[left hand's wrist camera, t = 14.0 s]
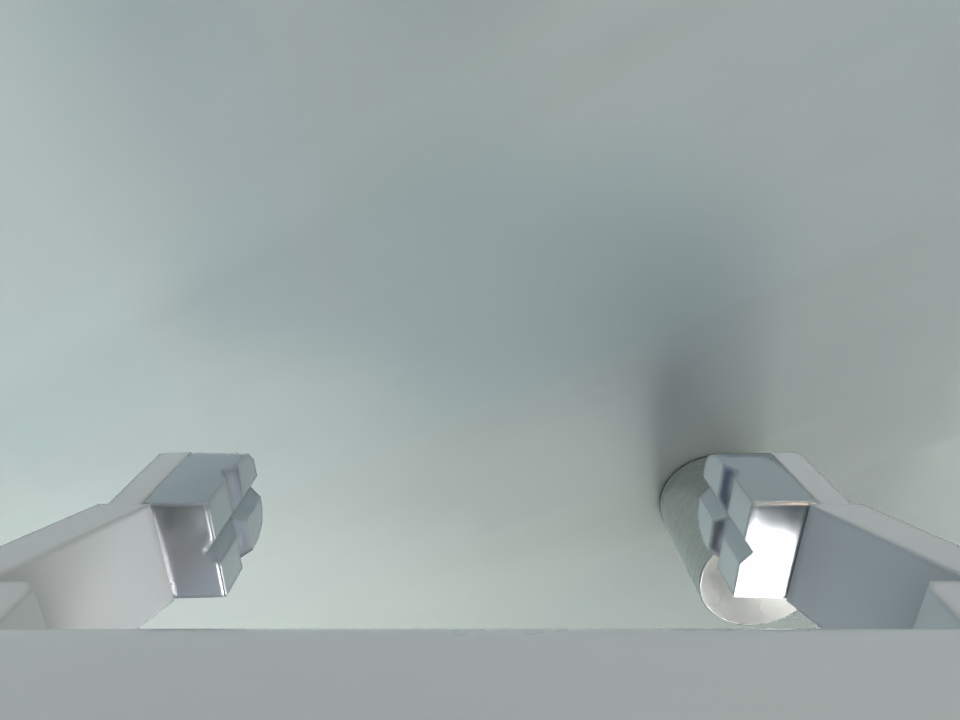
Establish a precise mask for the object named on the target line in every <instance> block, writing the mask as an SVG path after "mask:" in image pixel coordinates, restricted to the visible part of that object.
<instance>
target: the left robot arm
mask: <svg viewBox="0 0 960 720" xmlns="http://www.w3.org/2000/svg"><path fill="white" fill-rule="evenodd" d="M256 477H257V473H256V468H255V463H254V459H253V458H252V457H251V456H250V455H249V454H225V453H191V452H186V453H163V454H159V455H158V456H157V457H156V458H155V459H154V460H153V461H152V462H151V463H150V464H149V465H148V466H147V467H146V468H145V469H144V470H143V471H142V472H141V473H140V474H138V475H137V476H136V477H135V478H134V479H133V480H132V481H131V482H130V483H129V484H128V485H127V486H126V487H125V488H124V489H123V490H122V491H121V492H120V493H119V494H118V495H117V496H116V497H115V498H114V499H113V500H112V501H111V502H110V503H109V504H98V505H95V506H93V507H91V508H88V509H86V510H84V511H81V512H79V513H77V514H74V515H72V516H70V517H67V518H65V519H63V520H61V521H58V522H56V523H54V524H51V525H49V526H47V527H44V528H42V529H40V530H37V531H35V532H33V533H30V534H28V535H26V536H23V537H21V538H19V539H16V540H14V541H12V542H9V543H7V544H5V545H2V546H0V720H960V546H957V545H955V544H953V543H950V542H948V541H946V540H943V539H941V538H939V537H936V536H934V535H932V534H930V533H927V532H925V531H923V530H920V529H918V528H916V527H913V526H911V525H909V524H906V523H904V522H902V521H899V520H897V519H895V518H892V517H890V516H888V515H885V514H883V513H881V512H879V511H876V510H874V509H872V508H869V507H867V506H865V505H862V504H851V503H850V502H849V501H848V500H847V499H846V498H845V497H844V496H843V495H842V494H841V493H840V492H839V491H838V490H837V489H836V488H835V487H834V486H833V485H832V484H831V483H830V482H829V481H828V480H827V479H826V478H825V477H824V476H823V475H822V474H821V473H820V472H819V471H818V470H817V469H815V468H814V467H813V466H812V465H811V464H810V463H809V462H808V461H807V460H806V459H805V458H804V457H803V456H802V455H800V454H798V453H795V452H787V453H753V454H715V455H709V456H708V458H707V461H706V463H705V467H704V473H703V477H704V478H705V480H706V481H707V483H708V484H709V486H710V487H709V488H708V489H707V490H706V491H705V492H704V493H703V494H702V495H701V496H700V497H699V504H698V512H697V515H698V526H699V531H700V534H701V538H702V540H703V542H704V544H705V546H706V548H707V550H708V551H710V552H712V553H713V554H715V555H716V556H718V557H719V563H718V570H719V572H720V573H721V575H722V577H723V579H724V580H725V582H726V584H727V586H728V588H729V589H730V591H731V593H732V595H733V596H734V597H754V598H787V599H786V601H787V602H788V603H790V604H791V605H792V606H794V607H795V608H796V609H797V610H799V611H800V612H801V613H803V614H804V615H805V616H807V617H808V618H809V619H810V620H812V621H813V622H814V623H816V624H817V625H818V626H819V627H821V628H822V629H138V628H139V627H141V626H142V625H143V624H145V623H146V622H147V621H148V620H150V619H151V618H152V617H154V616H155V615H156V614H158V613H159V612H160V611H161V610H163V609H164V608H165V607H167V606H168V605H169V604H171V603H172V602H173V601H174V599H173V598H205V597H227V595H228V593H229V591H230V589H231V588H232V586H233V584H234V582H235V580H236V579H237V577H238V575H239V573H240V572H241V570H242V563H241V557H242V556H244V555H245V554H247V553H248V552H250V551H252V550H253V548H254V546H255V544H256V542H257V540H258V538H259V534H260V530H261V525H262V503H261V497H260V496H259V495H258V494H257V493H256V492H255V491H254V490H253V489H252V488H251V487H250V486H251V484H252V483H253V481H254V480H255V478H256Z"/></svg>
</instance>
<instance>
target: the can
mask: <svg viewBox="0 0 960 720" xmlns="http://www.w3.org/2000/svg"><path fill="white" fill-rule="evenodd" d="M707 458H708V457H704V458H700V459H697V460H694V461H692V462H690V463H688V464H686V465H684V466H683V467H681V468H680V469H679V470H677V471H676V472H675V473H674V474H673V475H672V476H671V477H670V479H669V480H668V481H667V483H666V485H665V486H664V489H663V491H662V494H661V498H660V511H661V515H662V517H663V520H664V522H665V524H666V526H667V528H668V530H669V532H670V534H671V537H672V539H673V541H674V543H675V545H676V547H677V549H678V551H679V553H680V555H681V558H682V560H683V562H684V564H685V566H686V568H687V570H688V572H689V574H690V576H691V578H692V581H693V583H694V585H695V587H696V589H697V591H698V593H699V595H700V597H701V599H702V601H703V603H704V604H705V606H706V607H707V608H708V609H709V610H710V611H711V612H712V613H713V614H714V615H716V616H718V617H719V618H721V619H723V620H725V621H728V622H731V623H735V624H740V625H760V624H766V623H771V622H774V621H777V620H780V619H782V618H785V617H787V616H789V615H791V614H792V613H794V612H796V611H797V609H796V608H795V607H794V606H792V605H791V604H790V603H788V602H787V601H786V599H787V598H754V597H734V596H733V595H732V593H731V591H730V589H729V588H728V586H727V584H726V582H725V580H724V579H723V577H722V575H721V573H720V572H719V570H718V563H719V557H718V556H716V555H715V554H713V553H712V552H710V551H708V550H707V548H706V546H705V544H704V542H703V540H702V538H701V534H700V531H699V526H698V515H697V512H698V504H699V497H700V496H701V495H702V494H703V493H704V492H705V491H706V490H707V489H708V488H709V487H710V486H709V484H708V483H707V481H706V480H705V478H704V477H703V473H704V467H705V463H706V461H707Z"/></svg>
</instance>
